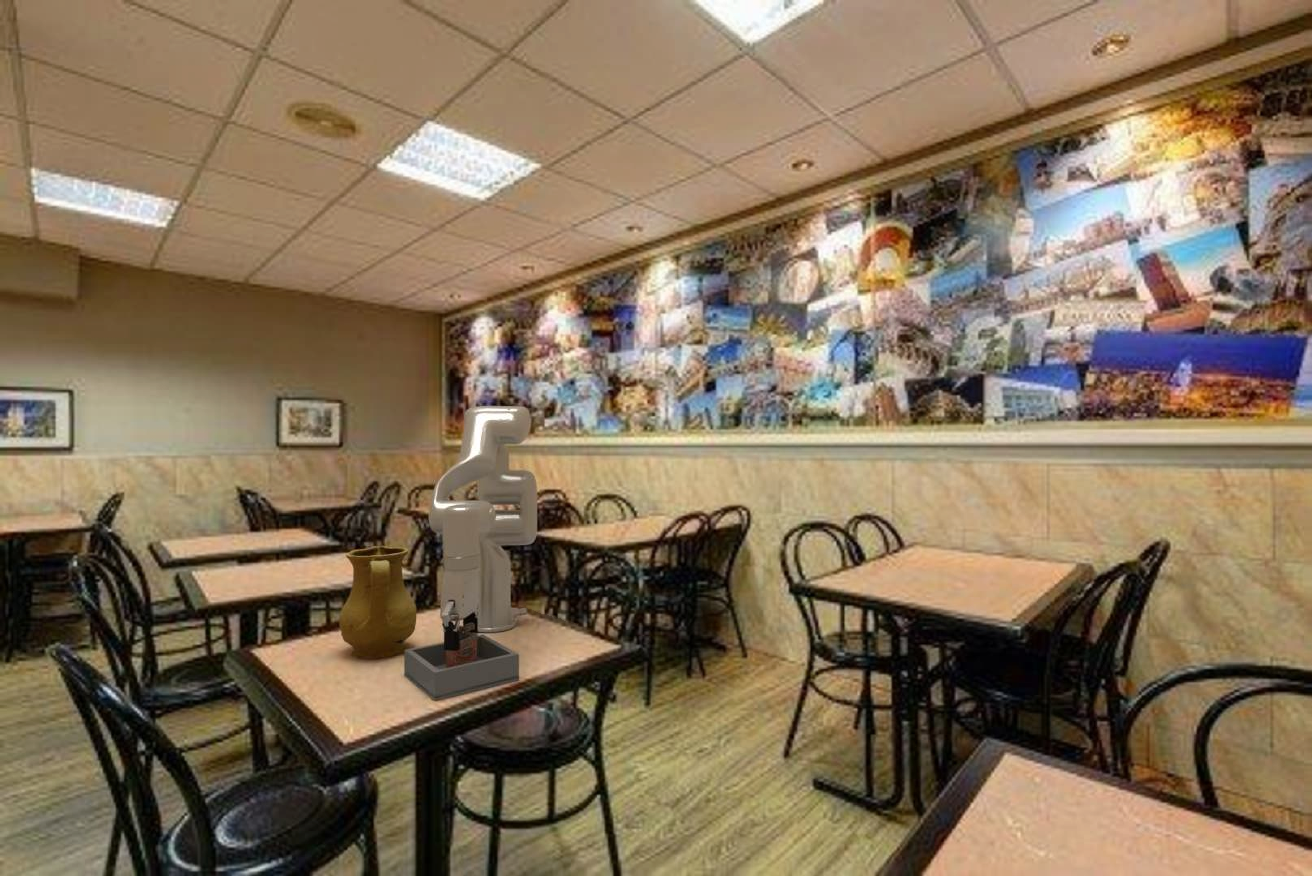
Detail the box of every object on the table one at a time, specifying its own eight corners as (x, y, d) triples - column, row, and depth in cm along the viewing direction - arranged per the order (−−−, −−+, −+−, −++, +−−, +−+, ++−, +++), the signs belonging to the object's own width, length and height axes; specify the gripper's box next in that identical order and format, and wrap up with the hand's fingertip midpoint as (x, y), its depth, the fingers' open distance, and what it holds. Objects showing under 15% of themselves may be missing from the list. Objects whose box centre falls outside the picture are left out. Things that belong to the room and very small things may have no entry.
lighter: (452, 679, 137) (452, 631, 137) (441, 676, 139) (441, 629, 139) (481, 668, 144) (481, 622, 144) (470, 665, 146) (470, 620, 146)
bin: (483, 658, 153) (483, 634, 154) (518, 680, 139) (519, 654, 139) (404, 675, 142) (404, 649, 142) (434, 701, 128) (434, 672, 128)
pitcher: (430, 639, 167) (425, 541, 166) (394, 668, 148) (388, 558, 147) (366, 639, 169) (360, 542, 167) (322, 667, 150) (316, 559, 149)
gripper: (460, 555, 150) (460, 630, 150) (426, 571, 133) (426, 655, 133) (492, 555, 149) (492, 631, 149) (462, 572, 132) (462, 657, 132)
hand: (461, 642), depth 141 cm, fingers open, 9 cm apart
